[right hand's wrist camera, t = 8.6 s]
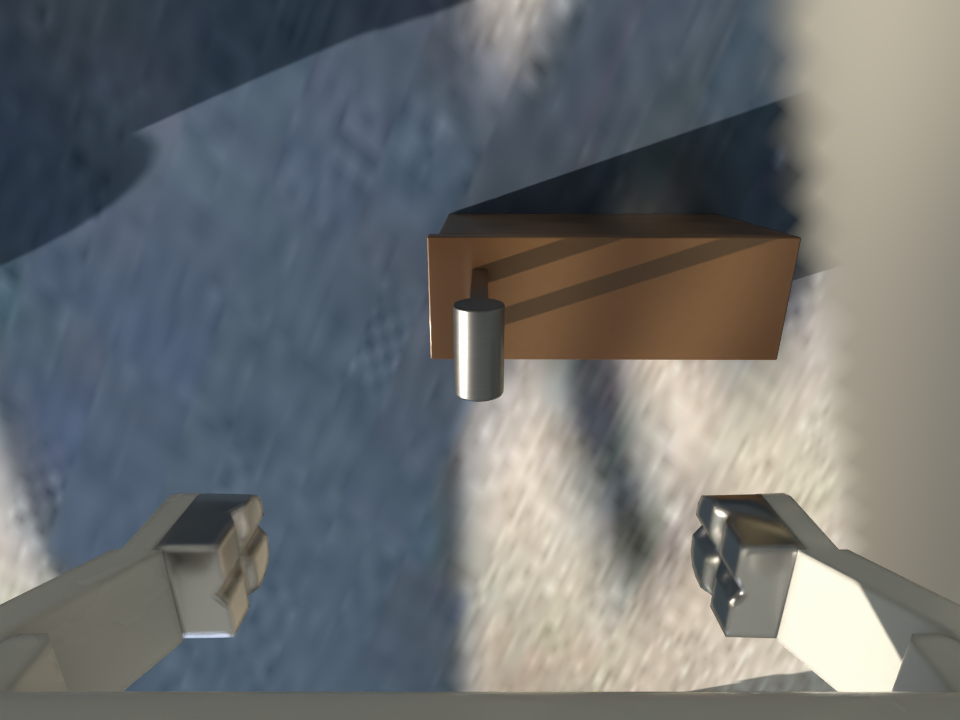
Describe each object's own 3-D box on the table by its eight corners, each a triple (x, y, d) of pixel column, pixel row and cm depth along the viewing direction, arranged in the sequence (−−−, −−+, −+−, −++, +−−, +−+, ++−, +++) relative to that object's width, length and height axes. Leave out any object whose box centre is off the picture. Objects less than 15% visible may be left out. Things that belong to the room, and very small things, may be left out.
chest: (450, 307, 36) (441, 353, 28) (448, 213, 34) (438, 233, 26) (704, 308, 36) (768, 354, 28) (718, 214, 34) (791, 234, 26)
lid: (431, 353, 28) (412, 434, 20) (428, 233, 26) (405, 272, 18) (768, 354, 28) (882, 436, 20) (792, 234, 26) (929, 273, 18)
